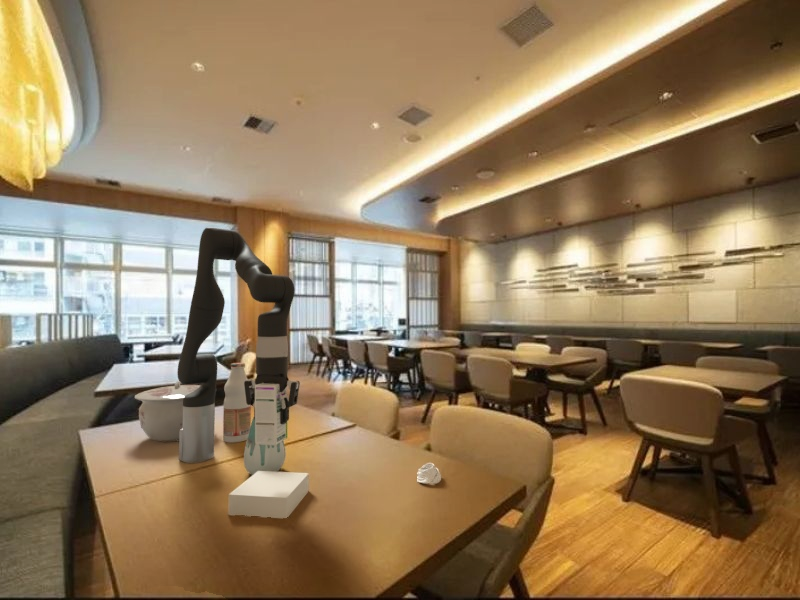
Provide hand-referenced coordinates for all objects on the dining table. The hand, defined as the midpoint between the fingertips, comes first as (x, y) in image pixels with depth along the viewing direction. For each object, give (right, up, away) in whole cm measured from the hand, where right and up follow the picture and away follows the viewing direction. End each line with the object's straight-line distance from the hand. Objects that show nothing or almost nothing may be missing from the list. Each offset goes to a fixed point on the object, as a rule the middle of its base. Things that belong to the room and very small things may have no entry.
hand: (271, 422), depth 97 cm
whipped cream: (+40, -20, +11) cm, 46 cm away
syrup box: (0, -5, 0) cm, 5 cm away
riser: (0, -20, -1) cm, 20 cm away
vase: (-8, -20, +18) cm, 28 cm away
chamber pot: (-54, -22, +53) cm, 78 cm away
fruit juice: (-29, -22, +49) cm, 61 cm away
